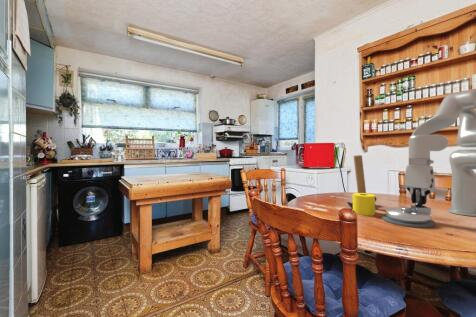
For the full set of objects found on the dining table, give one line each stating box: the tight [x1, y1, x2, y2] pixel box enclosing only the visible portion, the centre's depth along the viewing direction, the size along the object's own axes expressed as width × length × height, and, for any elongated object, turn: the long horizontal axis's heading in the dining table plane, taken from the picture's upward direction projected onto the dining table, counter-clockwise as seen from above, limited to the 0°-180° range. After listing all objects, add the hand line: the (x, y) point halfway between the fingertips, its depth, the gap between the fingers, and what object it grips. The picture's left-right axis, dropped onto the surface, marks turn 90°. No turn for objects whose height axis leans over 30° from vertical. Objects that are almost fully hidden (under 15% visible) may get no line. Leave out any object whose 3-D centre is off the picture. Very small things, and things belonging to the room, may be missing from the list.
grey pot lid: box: [385, 204, 432, 224], centre depth 104 cm, size 16×16×6 cm
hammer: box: [346, 154, 378, 209], centre depth 130 cm, size 20×5×30 cm, turn 120°
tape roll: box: [352, 192, 376, 217], centre depth 118 cm, size 10×10×9 cm
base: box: [381, 213, 436, 229], centre depth 104 cm, size 19×19×1 cm
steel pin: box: [414, 188, 423, 208], centre depth 103 cm, size 2×2×12 cm
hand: (418, 203), depth 103 cm, fingers closed on steel pin, 2 cm apart
